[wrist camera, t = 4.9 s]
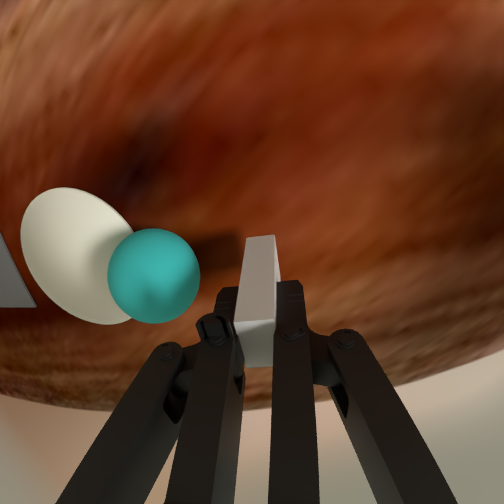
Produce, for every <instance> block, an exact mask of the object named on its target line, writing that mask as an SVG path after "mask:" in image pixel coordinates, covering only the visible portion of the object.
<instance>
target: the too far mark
mask: <svg viewBox="0 0 504 504" xmlns="http://www.w3.org/2000/svg"><path fill="white" fill-rule="evenodd" d="M0 307H37V305H36V303H35V302H34V300H33V298H32V296H31V294H30V293H29V291H28V289H27V287H26V285H25V283H24V281H23V279H22V277H21V276H20V274H19V272H18V270H17V268H16V265H15V263H14V261H13V259H12V257H11V255H10V253H9V251H8V248H7V246H6V244H5V242H4V239H3V237H2V235H1V232H0Z"/></svg>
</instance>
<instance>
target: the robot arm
mask: <svg viewBox="0 0 504 504" xmlns="http://www.w3.org/2000/svg"><path fill="white" fill-rule="evenodd" d="M196 328H197V331H198V333H199V336H200V339H201V341H200V342H199V343H197V344H194V345H191V346H188V347H184V348H182V347H181V346H180V345H179V344H178V343H175V342H166V343H163V344H161V345H159V346H157V347H156V348H155V349H154V350H153V352H152V353H151V355H150V356H149V358H148V359H147V361H146V362H145V364H144V365H143V367H142V368H141V370H140V371H139V373H138V374H137V376H136V377H135V379H134V380H133V382H132V383H131V385H130V386H129V388H128V389H127V391H126V393H125V394H124V396H123V397H122V399H121V400H120V402H119V403H118V405H117V406H116V408H115V409H114V411H113V413H112V414H111V416H110V417H109V419H108V420H107V422H106V423H105V425H104V427H103V428H102V430H101V431H100V433H99V434H98V436H97V437H96V439H95V441H94V442H93V444H92V445H91V447H90V449H89V450H88V452H87V453H86V455H85V456H84V458H83V460H82V461H81V463H80V465H79V466H78V468H77V469H76V471H75V473H74V474H73V476H72V478H71V479H70V481H69V482H68V484H67V486H66V487H65V489H64V490H63V492H62V494H61V495H60V497H59V499H58V500H57V502H56V503H55V504H144V503H145V501H146V499H147V497H148V495H149V493H150V491H151V489H152V487H153V485H154V483H155V481H156V479H157V478H158V476H159V474H160V472H161V470H162V468H163V466H164V464H165V462H166V460H167V458H168V456H169V454H170V452H171V450H172V448H173V446H174V444H175V442H176V440H177V438H178V442H177V446H176V450H175V455H174V460H173V465H172V469H171V474H170V479H169V484H168V489H167V494H166V499H165V502H164V504H234V496H235V485H236V474H237V464H238V453H239V443H240V432H241V421H242V411H243V400H244V389H245V373H244V362H245V365H246V368H256V367H272V366H273V380H272V415H271V445H270V446H271V447H270V468H269V491H268V504H320V500H319V499H320V497H319V471H318V450H317V433H316V417H315V402H314V389H313V384H317V385H323V386H328V389H329V392H330V394H331V396H332V399H333V401H334V403H335V405H336V408H337V410H338V412H339V415H340V417H341V419H342V421H343V424H344V426H345V429H346V431H347V433H348V435H349V438H350V440H351V442H352V445H353V447H354V449H355V452H356V454H357V456H358V458H359V461H360V463H361V466H362V468H363V470H364V473H365V475H366V478H367V480H368V482H369V485H370V487H371V489H372V492H373V494H374V497H375V499H376V501H377V504H458V503H457V501H456V499H455V497H454V495H453V493H452V492H451V490H450V488H449V486H448V484H447V482H446V480H445V478H444V476H443V474H442V472H441V471H440V469H439V467H438V465H437V463H436V461H435V459H434V458H433V456H432V454H431V452H430V450H429V448H428V447H427V445H426V443H425V441H424V439H423V438H422V436H421V434H420V433H419V431H418V429H417V427H416V425H415V424H414V422H413V420H412V418H411V417H410V415H409V413H408V411H407V410H406V408H405V406H404V404H403V403H402V401H401V399H400V398H399V396H398V394H397V393H396V391H395V389H394V388H393V386H392V384H391V383H390V381H389V379H388V378H387V376H386V374H385V373H384V371H383V369H382V368H381V366H380V364H379V363H378V361H377V360H376V358H375V356H374V355H373V353H372V351H371V350H370V348H369V347H368V345H367V343H366V342H365V340H364V339H363V337H362V336H361V335H360V334H359V333H358V332H357V331H354V330H352V329H340V330H337V331H335V332H333V333H332V334H331V335H330V336H324V335H319V334H316V333H314V332H313V331H312V330H310V328H309V327H308V325H307V318H306V309H305V301H304V292H303V286H302V284H301V283H300V282H299V281H298V280H290V281H281V282H280V271H279V264H278V257H277V250H276V242H275V235H267V236H258V237H249V238H247V239H246V245H245V252H244V258H243V264H242V271H241V277H240V284H239V286H236V287H225V288H222V290H221V291H220V292H219V293H218V295H217V298H216V304H215V307H214V311H213V313H209V314H206V315H204V316H202V317H201V318H200V319H199V320H198V321H197V323H196ZM178 436H179V437H178Z"/></svg>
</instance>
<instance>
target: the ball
mask: <svg viewBox="0 0 504 504" xmlns="http://www.w3.org/2000/svg"><path fill="white" fill-rule="evenodd" d="M107 281H108V286H109V290H110V293H111V295H112V297H113V299H114V301H115V303H116V304H117V305H118V307H119V308H120V309H121V310H122V311H123V312H124V313H126V314H127V315H128V316H130V317H132V318H133V319H135V320H138V321H141V322H145V323H153V324H154V323H163V322H168V321H170V320H173V319H175V318H177V317H178V316H180V315H181V314H183V313H184V312H185V311H186V310H187V309H188V308H189V307H190V305H191V304H192V302H193V301H194V299H195V297H196V295H197V293H198V289H199V285H200V269H199V264H198V261H197V258H196V256H195V254H194V252H193V250H192V249H191V247H190V246H189V245H188V244H187V243H186V242H185V241H184V240H183V239H182V238H181V237H179V236H178V235H176V234H174V233H172V232H170V231H167V230H163V229H157V228H150V229H143V230H140V231H136V232H134V233H132V234H131V235H129V236H127V237H126V238H125V239H124V240H122V241H121V242H120V243H119V245H118V246H117V247H116V248H115V250H114V252H113V253H112V255H111V258H110V261H109V264H108V270H107Z"/></svg>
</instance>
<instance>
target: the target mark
mask: <svg viewBox="0 0 504 504" xmlns="http://www.w3.org/2000/svg"><path fill="white" fill-rule="evenodd" d="M132 233H134V231H133V230H132V228H131V227H130V225H129V224H128V223H127V222H126V221H125V219H124V218H123V217H122V216H121V215H120V214H119V213H118V212H117V211H116V210H115V209H114V208H112V207H111V206H110V205H108V204H107V203H106V202H105V201H103V200H101V199H100V198H98V197H96V196H95V195H93V194H90V193H88V192H86V191H83V190H79V189H76V188H68V187H61V188H54V189H50V190H48V191H45V192H43V193H42V194H40V195H39V196H37V197H36V198H35V199H34V200H33V201H32V202H31V203H30V204H29V206H28V208H27V209H26V211H25V214H24V216H23V220H22V224H21V245H22V250H23V255H24V258H25V261H26V263H27V266H28V268H29V270H30V272H31V274H32V276H33V277H34V279H35V281H36V282H37V284H38V285H39V286H40V288H41V289H42V290H43V291H44V292H45V294H46V295H47V296H48V297H49V298H50V299H51V300H52V301H54V302H55V303H56V304H57V305H58V306H60V307H61V308H62V309H64V310H65V311H67V312H68V313H70V314H72V315H74V316H76V317H78V318H80V319H83V320H85V321H89V322H92V323H97V324H107V325H108V324H117V323H122V322H125V321H127V320H129V319H131V318H132V317H130V316H128V315H127V314H126V313H124V312H123V311H122V310H121V309H120V308H119V307H118V305H117V304H116V303H115V301H114V299H113V297H112V295H111V293H110V290H109V286H108V281H107V270H108V264H109V261H110V258H111V255H112V253H113V252H114V250H115V248H116V247H117V246H118V245H119V243H120V242H121V241H122V240H124V239H125V238H126V237H127V236H129V235H131V234H132Z"/></svg>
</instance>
